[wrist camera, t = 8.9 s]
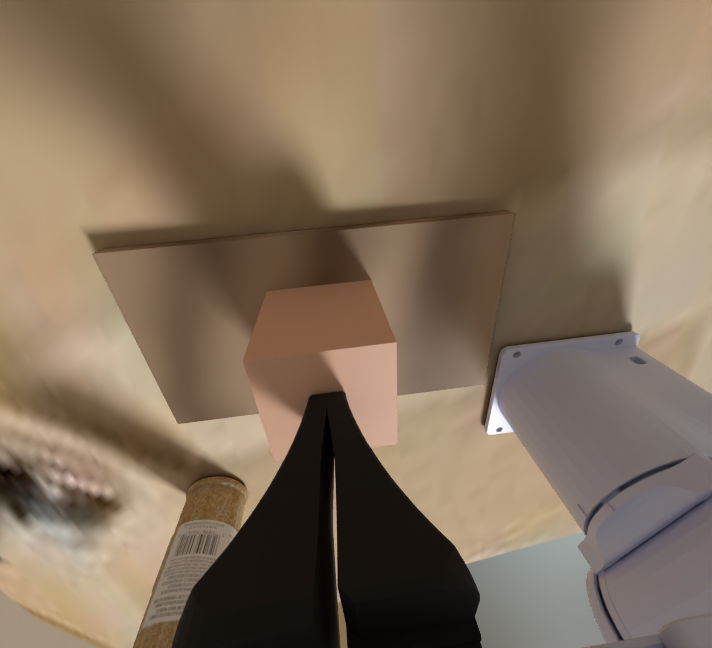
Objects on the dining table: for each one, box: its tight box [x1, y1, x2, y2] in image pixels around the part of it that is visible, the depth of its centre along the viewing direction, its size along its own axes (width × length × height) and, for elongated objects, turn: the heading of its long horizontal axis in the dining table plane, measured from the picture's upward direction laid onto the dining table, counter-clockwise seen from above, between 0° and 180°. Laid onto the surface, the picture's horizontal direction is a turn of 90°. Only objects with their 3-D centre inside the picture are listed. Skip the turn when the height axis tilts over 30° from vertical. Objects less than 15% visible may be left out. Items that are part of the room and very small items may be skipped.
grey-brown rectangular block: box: [92, 211, 515, 424], centre depth 16 cm, size 20×11×6 cm, turn 94°
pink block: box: [243, 280, 397, 461], centre depth 15 cm, size 5×5×6 cm
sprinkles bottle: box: [133, 476, 248, 648], centre depth 19 cm, size 5×5×13 cm
